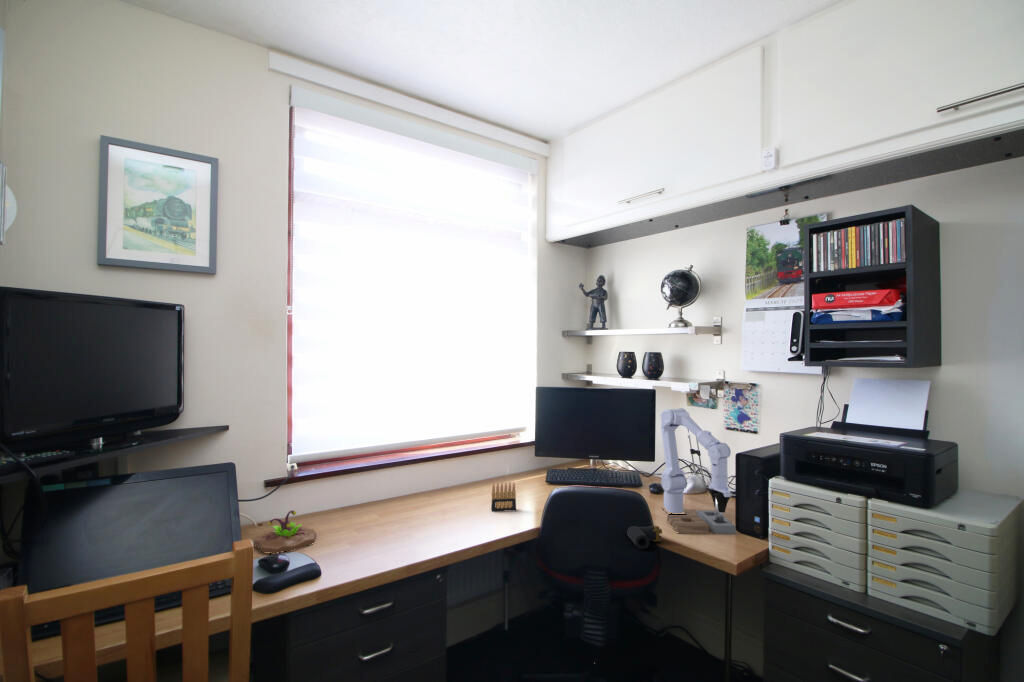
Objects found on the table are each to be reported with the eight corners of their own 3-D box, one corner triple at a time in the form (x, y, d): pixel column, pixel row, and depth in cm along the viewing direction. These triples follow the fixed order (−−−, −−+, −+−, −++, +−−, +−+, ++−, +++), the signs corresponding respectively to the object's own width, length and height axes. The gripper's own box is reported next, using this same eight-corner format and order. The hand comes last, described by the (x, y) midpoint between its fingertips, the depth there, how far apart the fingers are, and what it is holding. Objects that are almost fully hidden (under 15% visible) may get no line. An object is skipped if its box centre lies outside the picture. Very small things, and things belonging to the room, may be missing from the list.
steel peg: (714, 519, 192) (713, 496, 192) (721, 519, 192) (721, 496, 192) (717, 522, 189) (716, 498, 189) (725, 522, 189) (724, 498, 189)
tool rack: (696, 517, 204) (696, 510, 204) (716, 517, 204) (716, 510, 204) (714, 533, 186) (714, 525, 186) (735, 533, 186) (735, 525, 186)
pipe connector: (652, 519, 187) (667, 533, 172) (652, 533, 187) (668, 548, 172) (622, 520, 186) (635, 534, 171) (623, 534, 186) (635, 550, 171)
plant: (325, 543, 176) (325, 512, 177) (266, 559, 163) (267, 525, 163) (304, 529, 191) (304, 500, 191) (249, 542, 178) (249, 510, 178)
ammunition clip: (515, 509, 215) (515, 481, 215) (516, 510, 213) (516, 482, 214) (491, 510, 214) (491, 482, 214) (491, 511, 212) (491, 483, 212)
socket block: (667, 522, 198) (667, 515, 198) (697, 522, 198) (697, 515, 198) (677, 533, 186) (676, 525, 186) (708, 533, 186) (708, 525, 186)
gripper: (702, 470, 198) (702, 504, 198) (716, 479, 184) (717, 516, 183) (719, 470, 198) (720, 505, 198) (735, 479, 184) (736, 516, 183)
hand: (719, 510), depth 190 cm, fingers closed on steel peg, 3 cm apart
